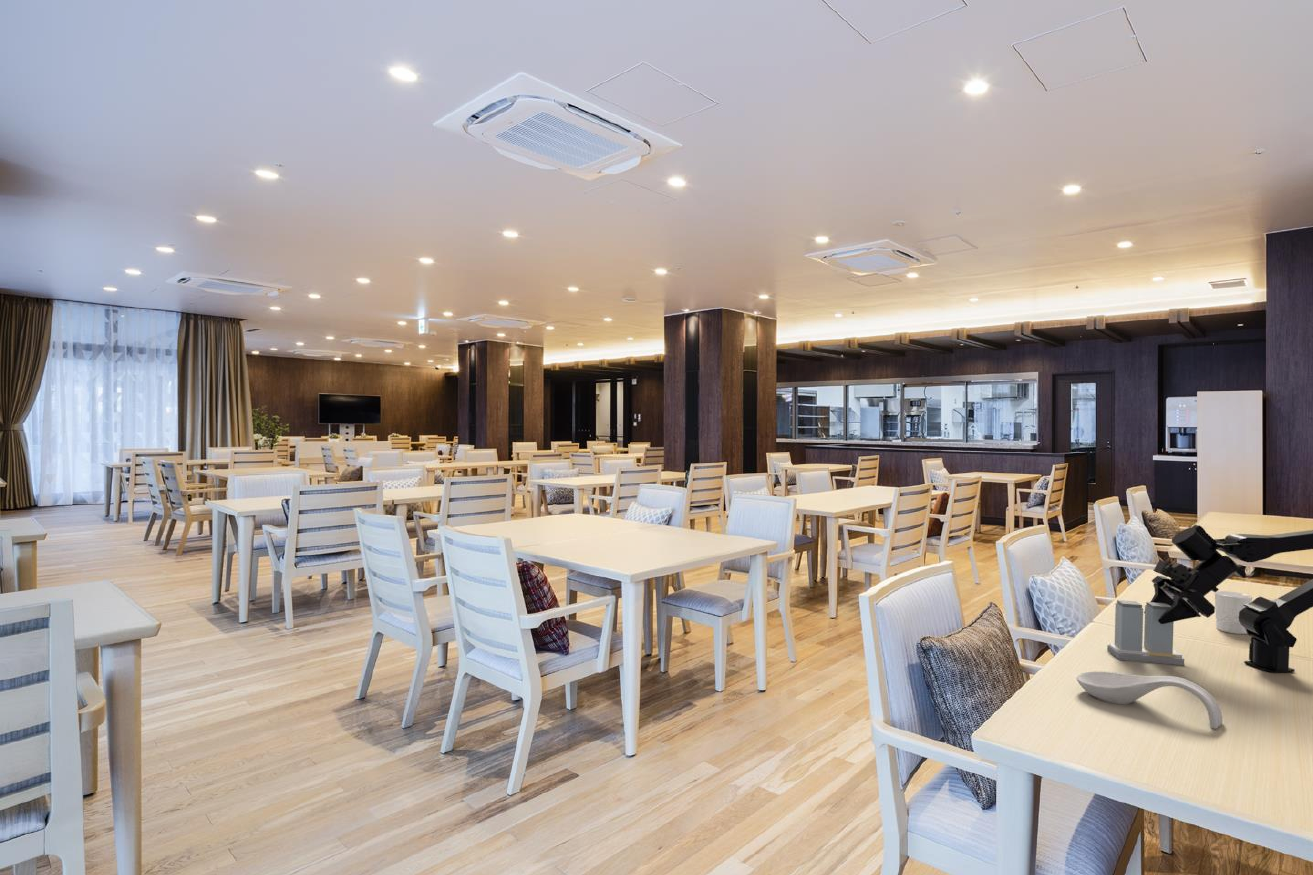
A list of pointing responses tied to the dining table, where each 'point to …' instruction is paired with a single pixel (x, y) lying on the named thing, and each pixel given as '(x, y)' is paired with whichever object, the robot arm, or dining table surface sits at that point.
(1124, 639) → the block
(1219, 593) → the white cup
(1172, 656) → the rail board
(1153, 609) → the block
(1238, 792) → the dining table surface
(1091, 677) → the grey spoon
